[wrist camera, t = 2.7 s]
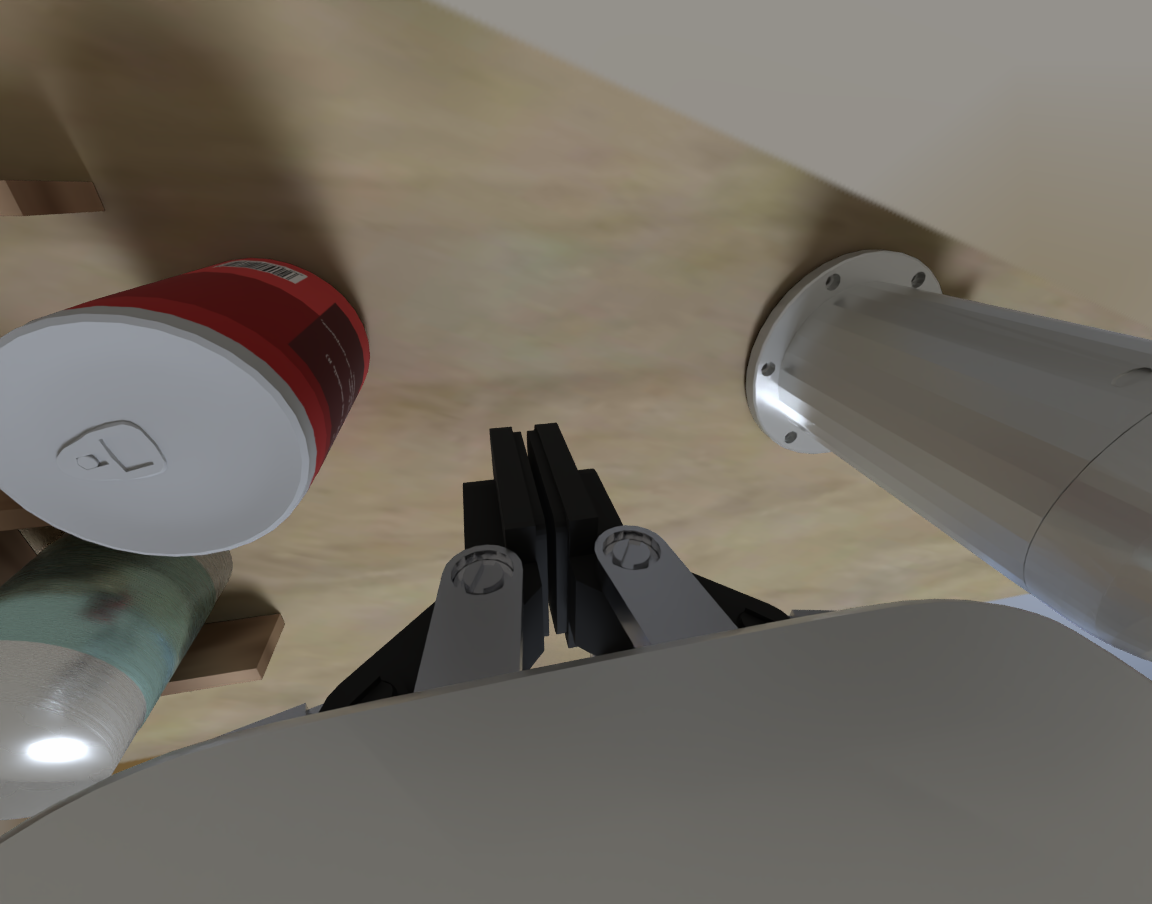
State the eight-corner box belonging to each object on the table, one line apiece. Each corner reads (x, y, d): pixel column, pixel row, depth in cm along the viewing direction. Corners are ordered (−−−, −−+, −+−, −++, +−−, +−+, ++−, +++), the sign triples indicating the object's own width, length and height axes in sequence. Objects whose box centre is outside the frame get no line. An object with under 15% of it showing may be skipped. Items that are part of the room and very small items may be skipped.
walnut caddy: (92, 182, 18) (5, 180, 15) (284, 624, 30) (261, 679, 27) (-282, 176, 16) (-485, 173, 12) (87, 652, 28) (36, 716, 25)
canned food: (141, 311, 20) (-136, 415, 11) (293, 218, 20) (140, 245, 10) (276, 440, 24) (157, 598, 15) (405, 366, 24) (367, 482, 14)
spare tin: (204, 495, 25) (48, 679, 16) (252, 597, 29) (149, 794, 19) (34, 511, 24) (-250, 724, 14) (108, 616, 27) (-78, 839, 18)
